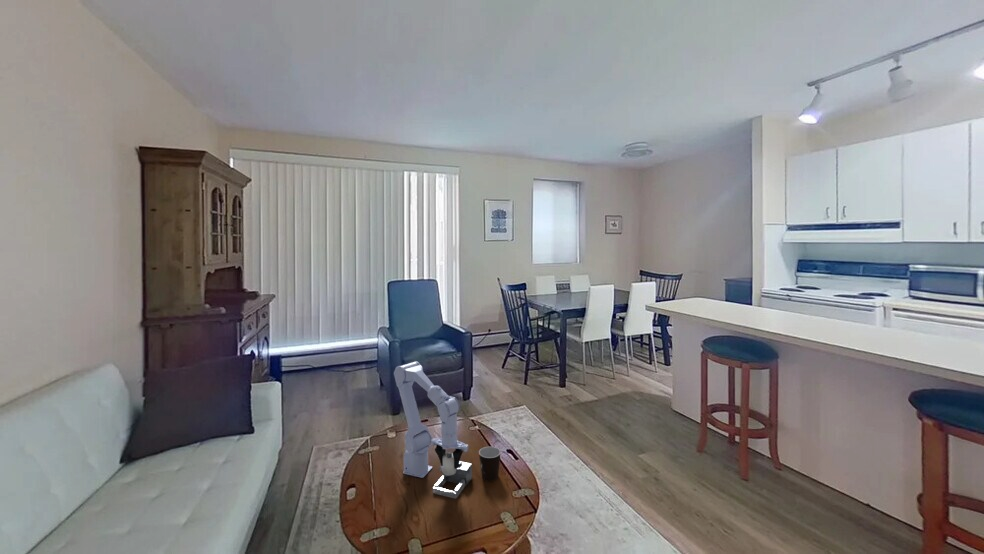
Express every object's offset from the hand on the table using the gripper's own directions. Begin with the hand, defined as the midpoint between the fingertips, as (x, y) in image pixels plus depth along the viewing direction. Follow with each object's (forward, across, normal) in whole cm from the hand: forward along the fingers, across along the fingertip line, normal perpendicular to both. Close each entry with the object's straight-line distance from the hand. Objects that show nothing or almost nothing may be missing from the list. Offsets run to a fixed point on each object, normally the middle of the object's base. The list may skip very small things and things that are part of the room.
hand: (449, 466), depth 147 cm
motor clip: (+9, -1, +2) cm, 9 cm away
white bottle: (+2, 0, 0) cm, 2 cm away
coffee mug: (+9, +11, +14) cm, 20 cm away
